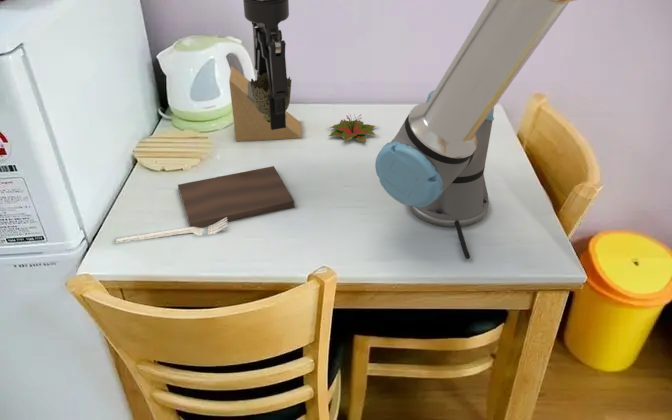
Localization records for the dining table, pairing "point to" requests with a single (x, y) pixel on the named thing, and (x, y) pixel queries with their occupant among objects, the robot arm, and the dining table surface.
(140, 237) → the fork
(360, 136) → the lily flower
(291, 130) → the sandwich container
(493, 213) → the dining table surface
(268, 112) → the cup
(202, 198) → the walnut board
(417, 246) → the dining table surface
